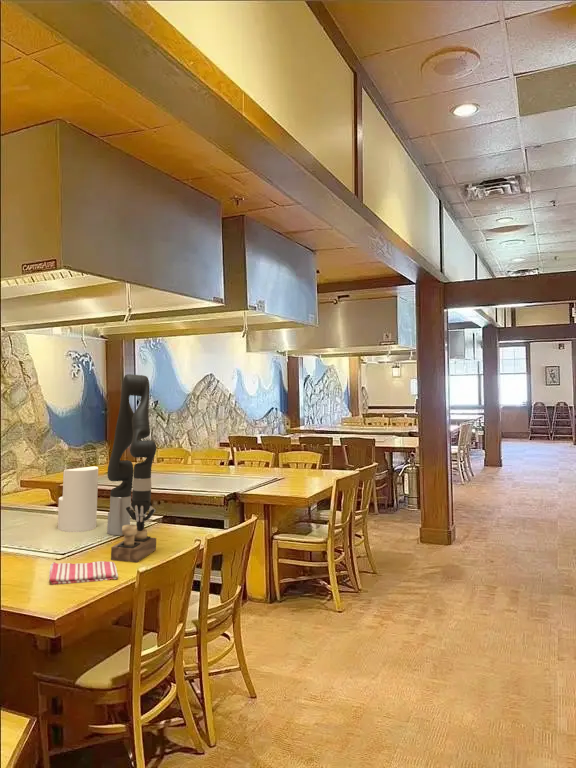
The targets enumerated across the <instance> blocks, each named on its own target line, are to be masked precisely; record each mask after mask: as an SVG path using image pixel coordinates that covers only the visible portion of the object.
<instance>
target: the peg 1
mask: <svg viewBox="0 0 576 768" xmlns="http://www.w3.org/2000/svg"><path fill="white" fill-rule="evenodd" d="M136 534H137V524H130V525H124V526H122V535H121V536H123V540H124V546H133V545H134V537H135V535H136Z"/></svg>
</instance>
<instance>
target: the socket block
mask: <svg viewBox="0 0 576 768" xmlns="http://www.w3.org/2000/svg"><path fill="white" fill-rule="evenodd" d="M110 548H111V550H110V560H111V561H119V562H128V561H130V563H131V562H132V563H138V562H140V561H141V560H143V559H145V558H146V557H147V556H149V555H150V553H151V554H152V553H154V552H155V551H156V550H157V537H152V536H148V535H147V538H146V539H144V540H139V539H134V545H133V546H124V539H123V540H121V541H120V542H118V543H116V544H114V545H112V546H111V547H110ZM153 551H154V552H153ZM148 554H149V555H148ZM145 556H146V557H145ZM142 558H143V559H142ZM139 560H140V561H139Z"/></svg>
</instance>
